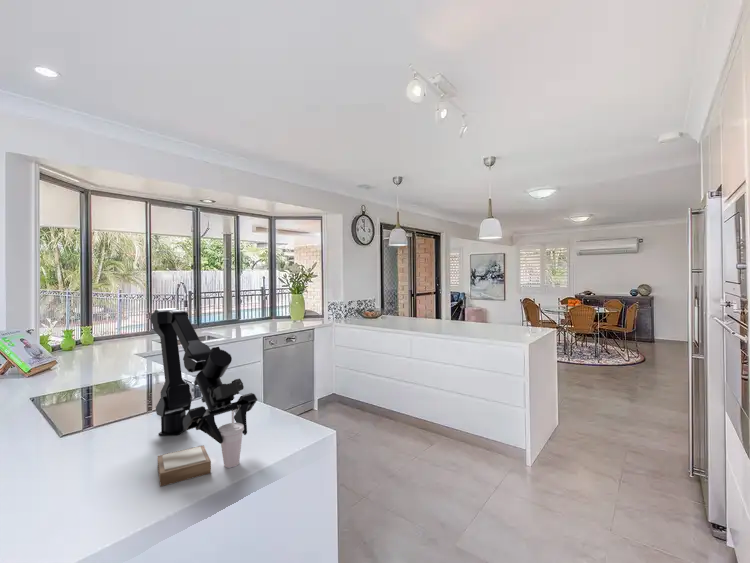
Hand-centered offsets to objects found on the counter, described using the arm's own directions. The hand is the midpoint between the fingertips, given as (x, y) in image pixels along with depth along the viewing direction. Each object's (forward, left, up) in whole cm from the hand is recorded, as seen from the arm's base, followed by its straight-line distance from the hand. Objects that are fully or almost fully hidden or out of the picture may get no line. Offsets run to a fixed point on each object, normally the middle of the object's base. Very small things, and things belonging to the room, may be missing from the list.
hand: (234, 438), depth 99 cm
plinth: (-12, -2, -7) cm, 14 cm away
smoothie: (-1, +1, -7) cm, 7 cm away
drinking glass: (-40, +45, -7) cm, 61 cm away
